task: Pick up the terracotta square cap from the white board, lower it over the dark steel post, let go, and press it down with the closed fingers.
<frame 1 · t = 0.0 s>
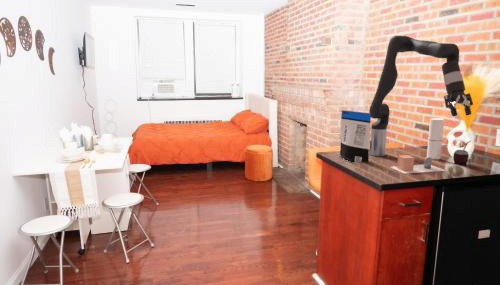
hand: (461, 115, 153), 31 cm above the worktop, tool tilted 20°, fingers open, 8 cm apart
terracotta cap: (405, 169, 172), point 1 cm above the worktop, touching white board
steel post: (427, 167, 174), resting on white board
protein powder: (353, 160, 199), on the worktop
cylindrical container: (433, 160, 195), on the worktop
mate gourd: (460, 164, 184), on the worktop
white board: (416, 171, 173), on the worktop
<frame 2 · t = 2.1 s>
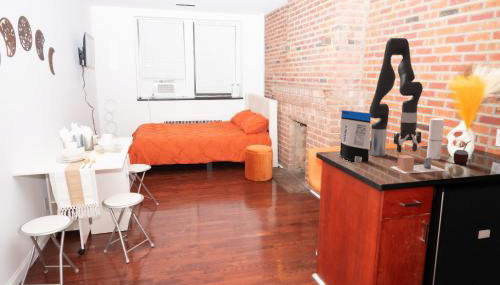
hand: (406, 151, 170), 11 cm above the worktop, tool pointing down, fingers open, 8 cm apart
nothing on the worktop moved.
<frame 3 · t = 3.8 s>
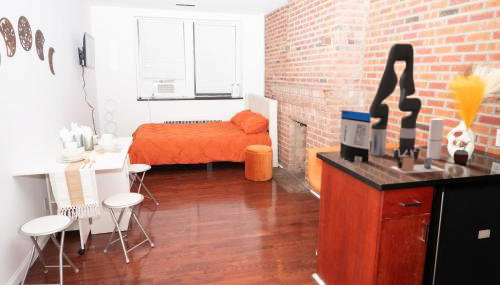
hand: (405, 167, 172), 2 cm above the worktop, tool pointing down, fingers closed on terracotta cap, 5 cm apart
terracotta cap: (405, 169, 172), point 2 cm above the worktop, touching white board, gripper
everything else where it was.
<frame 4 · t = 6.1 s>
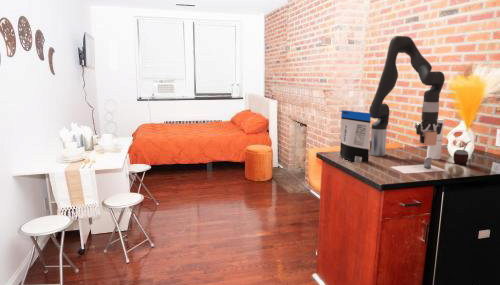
hand: (427, 142, 171), 16 cm above the worktop, tool pointing down, fingers closed on terracotta cap, 5 cm apart
terracotta cap: (427, 144, 171), point 15 cm above the worktop, touching gripper
everything else where it was.
when the fingers open (4 cm above the worktop, at t = 8.8 s): terracotta cap drops 2 cm, resting on white board.
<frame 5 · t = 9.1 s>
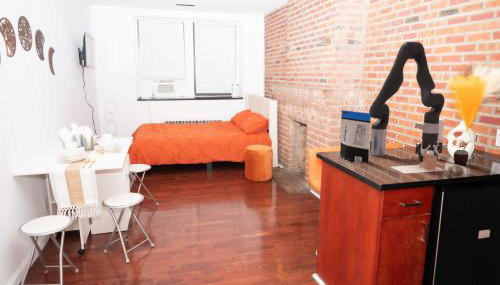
hand: (427, 161, 173), 5 cm above the worktop, tool pointing down, fingers open, 8 cm apart
terracotta cap: (427, 167, 174), point 1 cm above the worktop, touching white board
everything else where it was.
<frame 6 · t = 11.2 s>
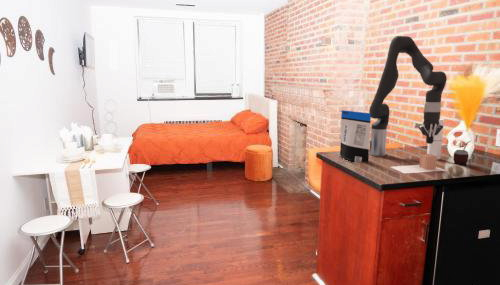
hand: (429, 143, 171), 15 cm above the worktop, tool pointing down, fingers closed
nothing on the worktop moved.
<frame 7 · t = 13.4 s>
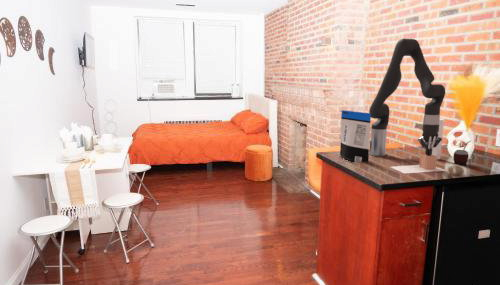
hand: (428, 155, 173), 8 cm above the worktop, tool pointing down, fingers closed
terracotta cap: (427, 167, 174), point 1 cm above the worktop, touching white board, gripper
everything else where it was.
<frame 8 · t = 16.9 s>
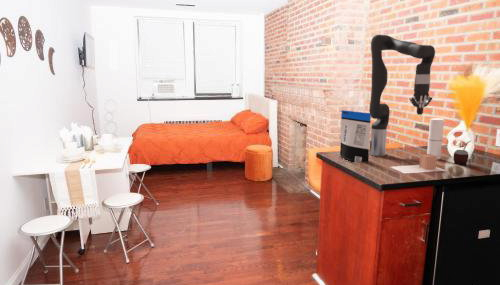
hand: (419, 114, 180), 29 cm above the worktop, tool pointing down, fingers closed
terracotta cap: (427, 167, 174), point 1 cm above the worktop, touching white board
everything else where it was.
at the end: terracotta cap 0.1 cm from the steel post (horizontally); terracotta cap point 1.5 cm above the worktop; terracotta cap tilted 0° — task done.
